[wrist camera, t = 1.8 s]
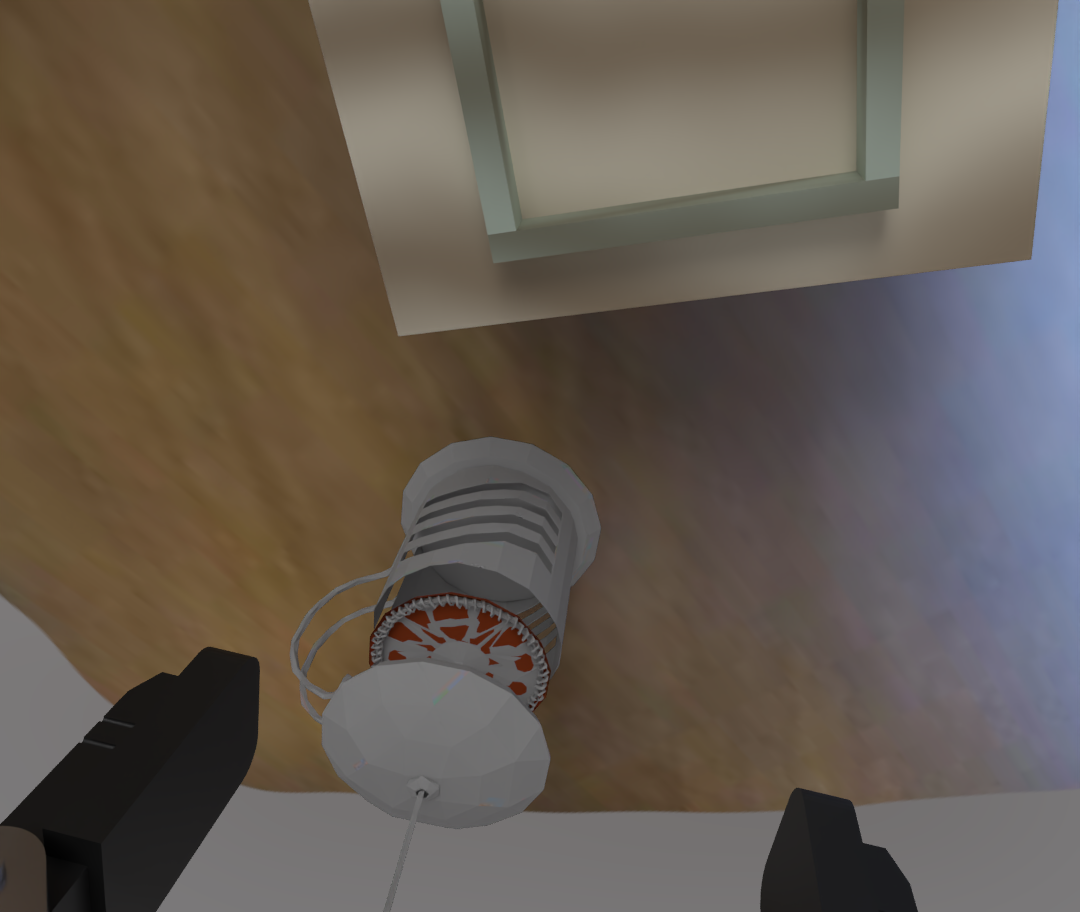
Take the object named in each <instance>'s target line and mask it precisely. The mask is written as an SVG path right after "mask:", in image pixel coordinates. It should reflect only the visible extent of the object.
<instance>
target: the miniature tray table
mask: <svg viewBox="0 0 1080 912" xmlns="http://www.w3.org/2000/svg"><path fill="white" fill-rule="evenodd" d="M308 2H309V5H310V9H311V13H312V17H313V20H314V24H315V28H316V31H317V35H318V39H319V43H320V46H321V50H322V54H323V57H324V61H325V65H326V69H327V72H328V76H329V80H330V83H331V87H332V91H333V95H334V98H335V102H336V106H337V109H338V113H339V117H340V121H341V124H342V128H343V132H344V135H345V139H346V143H347V147H348V150H349V154H350V158H351V161H352V165H353V169H354V173H355V176H356V180H357V184H358V188H359V191H360V195H361V199H362V202H363V206H364V210H365V214H366V217H367V221H368V225H369V228H370V232H371V236H372V240H373V243H374V247H375V251H376V254H377V258H378V262H379V266H380V269H381V273H382V277H383V280H384V284H385V288H386V292H387V295H388V299H389V303H390V306H391V310H392V314H393V318H394V321H395V325H396V329H397V332H398V336H405V335H413V334H421V333H429V332H438V331H446V330H454V329H462V328H471V327H479V326H487V325H495V324H503V323H512V322H520V321H528V320H536V319H545V318H553V317H561V316H569V315H578V314H586V313H594V312H602V311H610V310H619V309H627V308H635V307H643V306H652V305H660V304H668V303H676V302H684V301H693V300H701V299H709V298H717V297H726V296H734V295H742V294H750V293H758V292H767V291H775V290H783V289H791V288H800V287H808V286H816V285H824V284H833V283H841V282H849V281H857V280H865V279H874V278H882V277H890V276H898V275H907V274H915V273H923V272H931V271H939V270H948V269H956V268H964V267H972V266H981V265H989V264H997V263H1005V262H1014V261H1022V260H1030V259H1031V256H1032V247H1033V237H1034V228H1035V218H1036V209H1037V199H1038V190H1039V180H1040V171H1041V161H1042V152H1043V142H1044V133H1045V124H1046V114H1047V105H1048V95H1049V86H1050V76H1051V67H1052V57H1053V48H1054V38H1055V29H1056V19H1057V10H1058V0H308Z"/></svg>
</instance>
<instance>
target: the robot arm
mask: <svg viewBox="0 0 1080 912" xmlns="http://www.w3.org/2000/svg"><path fill="white" fill-rule="evenodd" d="M259 679H260V666H259V661H258V659H257V658H255V657H251V656H247V655H243V654H239V653H235V652H230V651H226V650H222V649H218V648H213V647H206V648H204V649H203V650H201V651H200V652H199V653H198V655H197V656H196V657H195V658H194V659H193V660H192V661H191V662H190V664H189V665H188V666H187V667H186V668H185V669H184V670H183V671H182V672H181V674H180V675H179V676H176V675H172V674H168V673H163V672H162V673H160V674H158V675H156V676H154V677H153V678H151V679H149V680H147V681H145V682H144V683H142V684H140V685H138V686H136V687H135V688H133V689H131V690H129V691H128V692H127V693H126V694H125V695H124V696H123V697H122V698H121V699H120V700H119V701H118V702H117V703H116V704H115V705H114V706H113V707H112V708H111V709H110V710H109V712H108V713H107V714H106V715H105V716H104V719H103V721H102V722H100V721H99V722H98V723H97V724H96V725H95V726H94V727H93V728H92V729H91V730H90V731H89V733H88V734H87V735H86V736H85V737H84V740H83V742H82V743H78V744H77V745H76V746H75V747H74V748H73V749H72V750H71V751H70V752H69V753H68V754H67V755H66V756H65V758H64V759H63V760H62V761H61V762H60V763H59V764H58V765H57V766H56V767H55V768H54V769H53V770H52V771H51V772H50V773H49V774H48V775H47V776H46V777H45V778H44V779H43V780H42V782H41V783H40V784H39V785H38V786H37V787H36V788H35V789H34V790H33V791H32V792H31V793H30V794H29V795H28V796H27V797H26V798H25V799H24V800H23V801H22V802H21V804H20V805H19V806H18V807H17V808H16V809H15V810H14V811H13V812H12V813H11V814H10V815H9V816H8V817H7V818H6V819H5V820H4V821H3V822H2V823H1V824H0V912H156V911H157V909H158V908H159V906H160V905H161V903H162V902H163V900H164V899H165V897H166V896H167V894H168V893H169V891H170V890H171V888H172V887H173V885H174V884H175V882H176V881H177V879H178V878H179V876H180V875H181V873H182V871H183V870H184V868H185V867H186V866H187V864H188V862H189V861H190V859H191V858H192V856H193V855H194V853H195V852H196V850H197V849H198V847H199V846H200V844H201V843H202V841H203V840H204V838H205V837H206V835H207V833H208V832H209V831H210V829H211V828H212V826H213V824H214V823H215V822H216V820H217V819H218V817H219V816H220V814H221V813H222V811H223V810H224V808H225V806H226V805H227V803H228V802H229V800H230V799H231V797H232V796H233V794H234V793H235V791H236V790H237V788H238V787H239V785H240V784H241V782H242V781H243V779H244V777H245V776H246V774H247V772H248V769H249V767H250V765H251V762H252V759H253V756H254V753H255V749H256V745H257V739H258V714H259ZM760 909H761V912H918V911H917V907H916V903H915V900H914V896H913V893H912V889H911V886H910V883H909V882H908V880H907V879H906V878H905V876H904V874H903V873H902V872H901V870H900V869H899V867H898V866H897V864H896V863H895V861H894V860H893V858H892V857H891V856H890V854H889V853H888V851H887V850H886V848H882V847H877V846H873V845H869V844H865V843H863V842H862V838H861V834H860V830H859V825H858V821H857V817H856V813H855V809H854V806H853V804H852V802H851V801H850V800H847V799H843V798H839V797H835V796H831V795H826V794H822V793H818V792H814V791H809V790H805V789H801V788H796V789H794V791H793V792H792V794H791V796H790V798H789V801H788V804H787V806H786V809H785V812H784V815H783V818H782V820H781V823H780V826H779V829H778V831H777V834H776V837H775V840H774V843H773V845H772V848H771V851H770V853H769V856H768V859H767V862H766V865H765V870H764V874H763V879H762V887H761V903H760Z"/></svg>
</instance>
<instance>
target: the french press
mask: <svg viewBox="0 0 1080 912" xmlns="http://www.w3.org/2000/svg"><path fill="white" fill-rule="evenodd" d="M401 525H402V527H403V530H404V532H405V535H406V537H405V539H404V541H403V543H402V545H401V548H400V550H399V552H398V554H397V556H396V558H395V560H394V562H393V565H392V567H391V568H389V569H387V570H385V571H383V572H380V573H377V574H373V575H369V576H365V577H361V578H357V579H355V580H352V581H350V582H348V583H345V584H343V585H341V586H338V587H336V588H335V589H334V590H332V591H331V592H330V593H329V594H327V595H326V596H325V597H323V598H322V599H321V600H320V601H318V602H317V603H316V604H315V605H314V606H313V607H312V608H311V610H310V611H309V612H308V613H307V614H306V615H305V617H304V619H303V620H302V622H301V624H300V626H299V628H298V629H297V631H296V633H295V635H294V637H293V638H292V640H291V649H290V659H291V666H292V671H293V672H294V674H295V675H296V676H297V677H298V678H299V680H300V696H301V705H302V706H303V707H304V708H305V709H306V710H307V712H308V713H309V714H310V715H311V716H312V717H313V719H314V720H315V721H317V722H318V723H320V724H322V746H323V748H324V750H325V752H326V754H327V756H328V758H329V760H330V762H331V764H332V766H333V767H334V769H335V771H336V773H337V775H338V776H339V777H340V778H341V779H342V780H343V781H344V782H346V783H347V784H348V785H349V786H350V787H351V788H353V789H354V790H355V791H356V792H357V793H358V794H360V795H361V796H362V797H363V798H364V799H365V800H367V801H368V802H370V803H371V804H373V805H374V806H376V807H378V808H379V809H381V810H382V811H384V812H386V813H387V814H389V815H391V816H392V817H397V818H401V819H406V820H410V823H409V826H408V830H407V833H406V836H405V840H404V843H403V847H402V850H401V854H400V857H399V860H398V864H397V867H396V870H395V874H394V877H393V881H392V884H391V887H390V891H389V894H388V897H387V901H386V904H385V908H384V911H383V912H390V910H391V907H392V903H393V899H394V896H395V893H396V889H397V886H398V882H399V879H400V875H401V871H402V868H403V864H404V861H405V858H406V854H407V851H408V848H409V844H410V841H411V837H412V834H413V830H414V827H415V823H416V822H421V823H427V824H431V825H436V826H441V827H446V828H454V829H460V828H469V827H478V826H487V825H490V824H493V823H495V822H498V821H501V820H503V819H506V818H509V817H511V816H514V815H517V814H519V813H522V811H523V810H524V809H525V808H526V807H527V806H528V805H529V804H530V803H531V802H532V801H533V800H534V799H535V798H536V797H537V796H538V795H539V794H540V793H541V792H542V791H543V790H544V786H545V781H546V777H547V772H548V768H549V763H550V753H549V750H548V747H547V743H546V740H545V737H544V734H543V730H542V727H541V724H540V722H539V721H538V719H537V717H536V715H535V714H534V713H533V711H534V710H535V709H536V708H537V707H538V706H539V704H540V703H541V702H542V701H543V700H544V699H545V698H546V695H547V690H548V684H549V681H550V679H551V678H552V676H553V675H554V673H555V671H556V670H557V668H558V666H559V664H560V657H561V650H562V643H563V636H564V629H565V622H566V615H567V608H568V601H569V594H570V587H571V586H573V585H574V584H575V583H576V582H577V581H578V579H579V578H580V577H581V576H582V574H583V573H584V572H585V571H586V570H587V568H588V567H589V566H590V565H591V563H592V562H593V561H594V559H595V555H596V550H597V545H598V541H599V536H600V531H601V526H600V522H599V518H598V514H597V511H596V507H595V503H594V499H593V496H592V494H591V493H590V491H589V490H588V489H587V488H586V486H585V485H584V484H583V483H582V481H581V480H580V479H579V478H578V477H577V475H576V474H575V473H574V472H573V470H572V469H571V468H570V467H569V465H567V464H566V463H564V462H562V461H560V460H559V459H557V458H555V457H553V456H552V455H550V454H548V453H547V452H545V451H543V450H541V449H540V448H538V447H536V446H534V445H533V444H528V443H523V442H517V441H512V440H506V439H501V438H496V437H486V438H480V439H474V440H468V441H462V442H457V443H451V444H450V445H448V446H446V447H445V448H443V449H442V450H440V451H439V452H437V453H435V454H434V455H432V456H431V457H429V458H428V459H426V460H424V461H423V462H421V463H420V465H419V466H418V468H417V470H416V471H415V473H414V475H413V476H412V478H411V479H410V481H409V483H408V484H407V486H406V488H405V489H404V491H403V503H402V518H401ZM410 550H412V552H413V555H414V556H412V557H410V558H407V559H405V557H406V554H407V552H408V551H410ZM404 559H405V560H404ZM387 576H389V578H388V580H387V582H386V584H385V587H384V589H383V591H382V593H381V596H380V598H379V600H378V602H377V604H376V605H373V606H369V607H366V608H362V609H360V610H358V611H356V612H354V613H352V614H350V615H348V616H346V617H344V618H342V619H341V620H339V621H338V622H337V623H336V624H334V625H333V626H332V627H331V628H329V629H328V630H327V631H326V632H325V633H324V634H323V635H322V636H321V637H320V638H319V639H318V640H317V641H316V642H315V643H314V645H313V647H312V649H311V651H310V653H309V655H308V657H307V659H306V661H305V663H304V665H303V667H302V669H301V671H300V668H299V662H298V655H297V654H298V646H299V639H300V637H301V635H302V634H303V632H304V631H305V629H306V627H307V626H308V624H309V623H310V621H311V619H312V618H313V616H314V615H315V613H316V612H317V611H318V610H319V609H320V608H321V607H322V606H324V605H325V604H326V603H327V602H328V601H329V600H331V599H332V598H333V597H334V596H335V595H337V594H339V593H341V592H343V591H345V590H347V589H349V588H351V587H354V586H356V585H358V584H362V583H366V582H369V581H373V580H376V579H380V578H383V577H387ZM403 576H405V578H404V580H403V583H402V585H401V588H400V590H399V592H398V595H397V596H396V597H395V598H394V599H393V600H391V601H387V598H388V596H389V594H390V591H391V589H392V587H393V584H394V583H395V582H396V581H398V580H399V579H401V578H402V577H403ZM386 601H387V602H386ZM538 603H541V604H542V605H543V607H542V608H540V609H539V610H537V611H536V612H535V613H533V614H531V615H529V616H527V617H526V618H524V619H522V620H521V619H520V617H519V616H517V615H518V614H520V613H522V612H524V611H526V610H528V609H531V608H532V607H534V606H535V605H537V604H538ZM391 606H393V607H392V609H391V610H390V611H389V612H387V613H385V615H384V616H383V618H382V619H381V621H380V622H379V624H378V625H377V627H376V628H375V626H376V624H377V622H378V619H379V617H380V615H381V612H382V610H383V609H384V608H387V607H391ZM372 611H374V629H375V630H374V631H373V633H372V634H371V636H370V651H369V664H370V666H371V668H370V669H368V670H366V671H364V672H362V673H360V674H358V675H356V676H354V677H352V676H350V675H349V674H347V675H346V676H345V677H344V678H343V680H342V682H341V684H340V686H339V688H338V689H337V690H336V691H335V692H326V691H324V690H322V689H321V688H319V687H317V686H315V685H313V684H311V683H310V682H309V681H308V680H307V678H306V677H307V671H308V669H309V667H310V665H311V663H312V661H313V658H314V656H315V654H316V652H317V650H318V649H319V648H320V647H321V646H322V644H323V643H324V642H325V641H326V640H327V639H328V638H329V636H330V635H331V634H333V633H334V632H335V631H336V630H337V629H338V628H339V627H340V626H341V625H342V624H344V623H345V622H347V621H349V620H351V619H353V618H355V617H358V616H360V615H362V614H364V613H368V612H372ZM547 612H548V613H549V614H550V616H551V617H550V618H548V619H547V620H545V621H544V622H542V623H541V624H539V625H538V626H536V627H535V628H533V629H532V630H530V629H529V628H528V625H530V624H531V623H533V622H534V621H536V620H537V619H539V618H540V617H542V616H543V615H544V614H546V613H547ZM554 622H555V624H556V626H557V627H556V628H555V629H554V630H553V631H552V632H551V633H549V634H548V635H547V636H546V637H545V638H543V639H542V640H539V639H538V638H537V636H536V635H538V634H539V633H541V632H542V631H544V630H545V629H547V628H548V627H550V626H551V625H552V624H553V623H554ZM556 636H557V639H556V645H555V646H554V647H553V648H552V649H551V650H550V651H549V652H548V653H547V654H545V651H544V647H546V646H547V645H548V644H549V643H550V642H551V641H552V640H553V639H554V638H555V637H556ZM306 688H307V689H308V690H310V691H311V692H313V693H314V694H316V695H318V696H319V697H321V698H322V699H331V700H330V702H329V703H328V705H327V706H326V708H325V710H324V712H323V714H322V717H321V716H319V715H318V714H317V712H316V711H315V709H314V708H313V707H312V705H311V704H310V703H309V701H308V699H307V694H306Z"/></svg>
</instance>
